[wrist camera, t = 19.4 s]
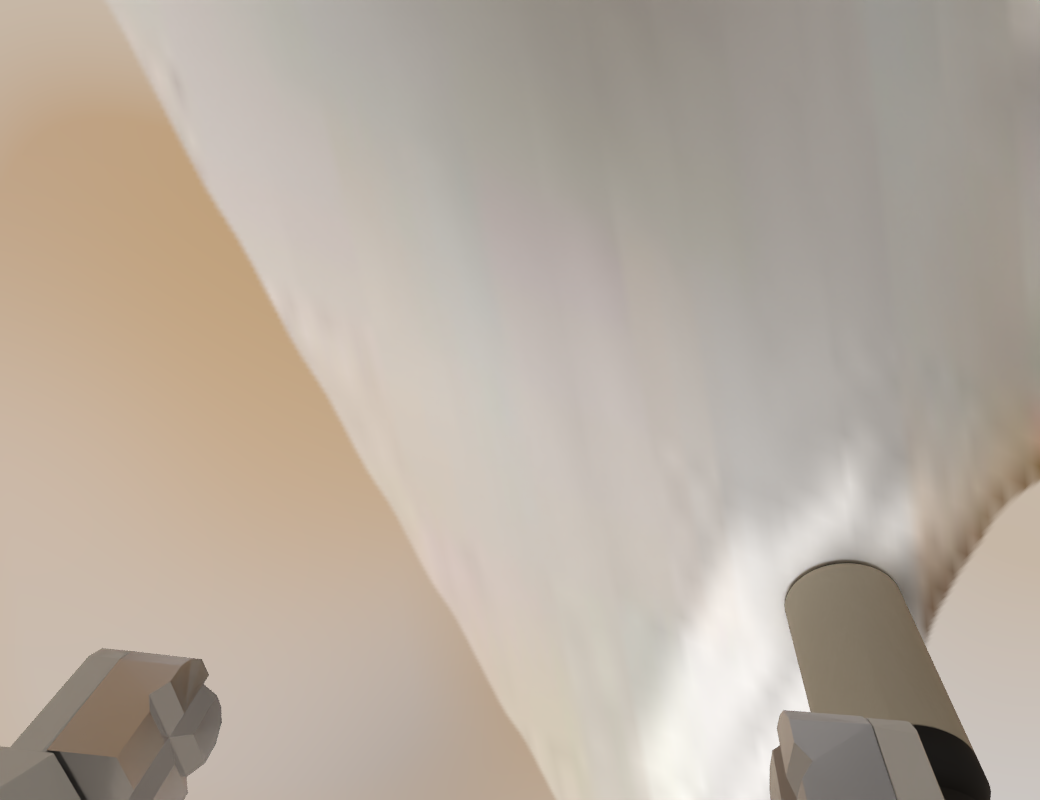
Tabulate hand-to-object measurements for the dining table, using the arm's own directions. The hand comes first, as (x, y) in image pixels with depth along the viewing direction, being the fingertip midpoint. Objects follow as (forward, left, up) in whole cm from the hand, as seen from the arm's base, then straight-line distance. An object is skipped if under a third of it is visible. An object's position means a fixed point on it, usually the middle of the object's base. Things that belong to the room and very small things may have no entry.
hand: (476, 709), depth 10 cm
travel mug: (-18, +30, -34) cm, 49 cm away
